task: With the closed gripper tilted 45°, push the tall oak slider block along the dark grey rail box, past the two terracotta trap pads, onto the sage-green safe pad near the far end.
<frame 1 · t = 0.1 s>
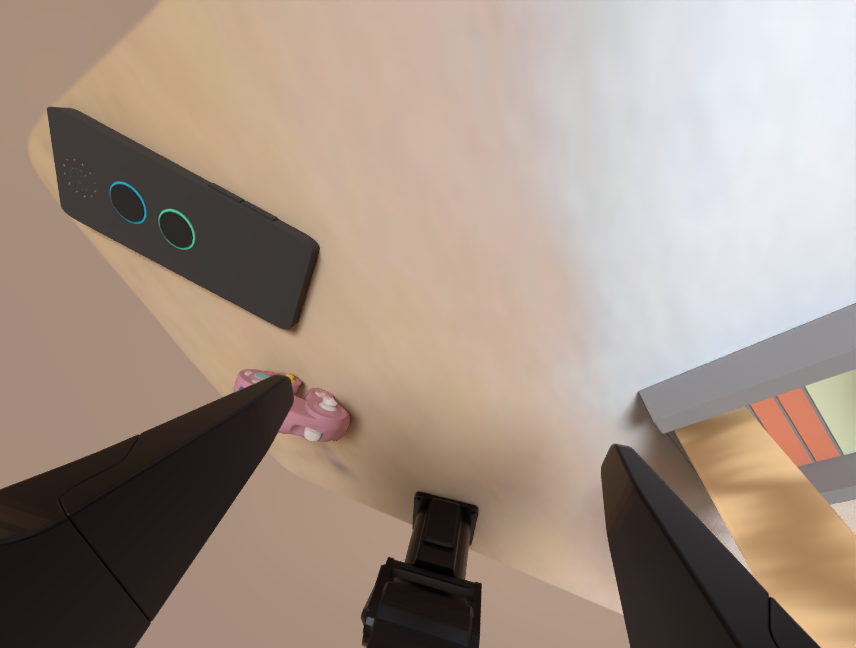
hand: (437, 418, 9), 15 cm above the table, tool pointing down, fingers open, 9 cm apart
rail box: (715, 429, 24), on the table
smart home device: (198, 223, 26), on the table
video game controller: (309, 386, 32), on the table
oak slider: (791, 539, 17), point 8 cm above the table, slide at 0.0 cm
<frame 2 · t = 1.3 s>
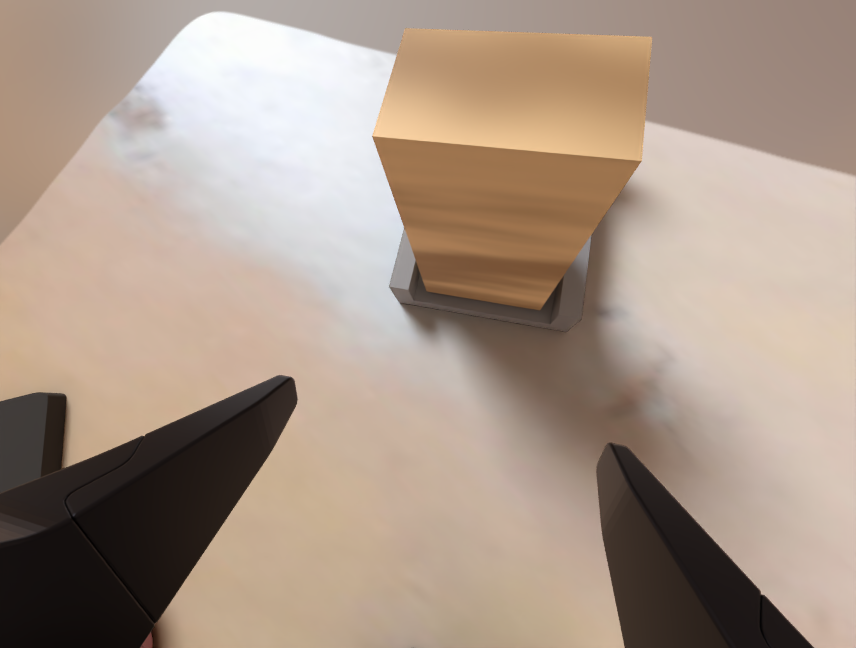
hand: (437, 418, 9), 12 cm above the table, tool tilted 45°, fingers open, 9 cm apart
rail box: (486, 279, 23), on the table
oak slider: (494, 215, 15), point 8 cm above the table, slide at 0.0 cm
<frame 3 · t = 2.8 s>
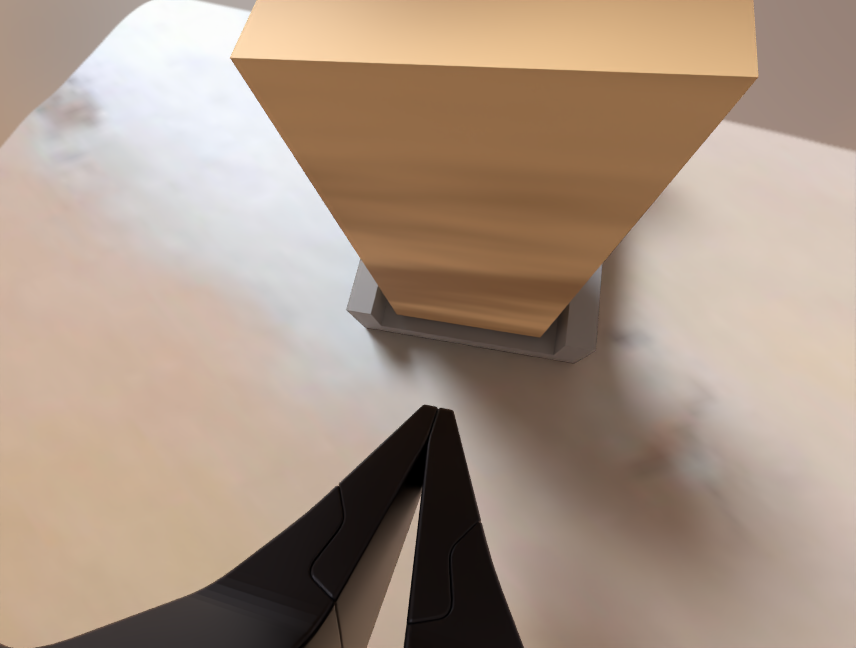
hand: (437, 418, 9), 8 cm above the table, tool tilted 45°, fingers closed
rail box: (472, 298, 18), on the table
oak slider: (475, 213, 11), point 8 cm above the table, slide at 0.0 cm
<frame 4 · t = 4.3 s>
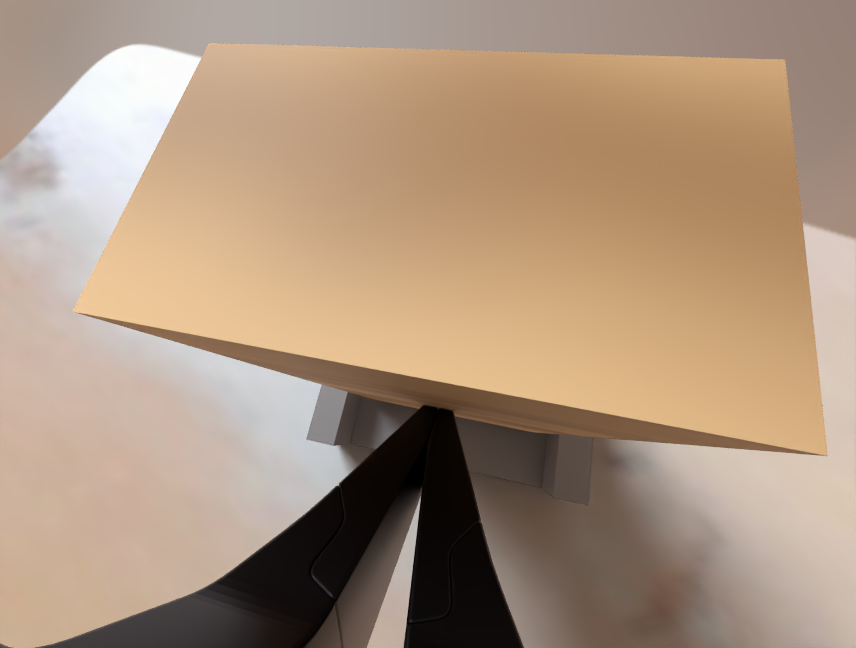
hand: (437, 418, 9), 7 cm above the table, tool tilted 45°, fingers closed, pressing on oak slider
rail box: (452, 406, 17), on the table
oak slider: (451, 336, 10), point 8 cm above the table, slide at 1.5 cm, touching gripper
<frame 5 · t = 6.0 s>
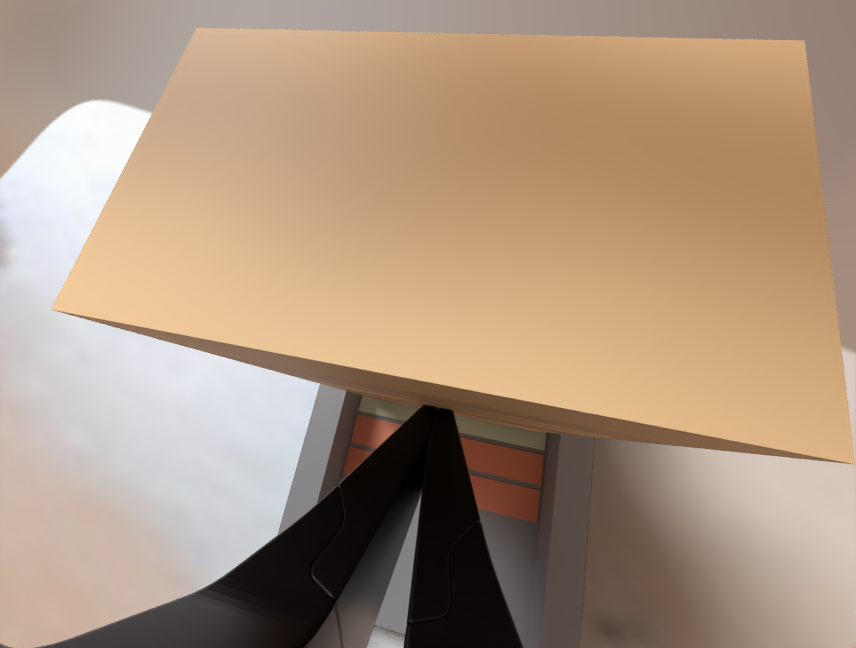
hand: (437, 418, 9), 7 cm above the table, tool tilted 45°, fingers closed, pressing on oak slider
rail box: (426, 552, 15), on the table
oak slider: (451, 334, 9), point 8 cm above the table, slide at 7.9 cm, touching gripper
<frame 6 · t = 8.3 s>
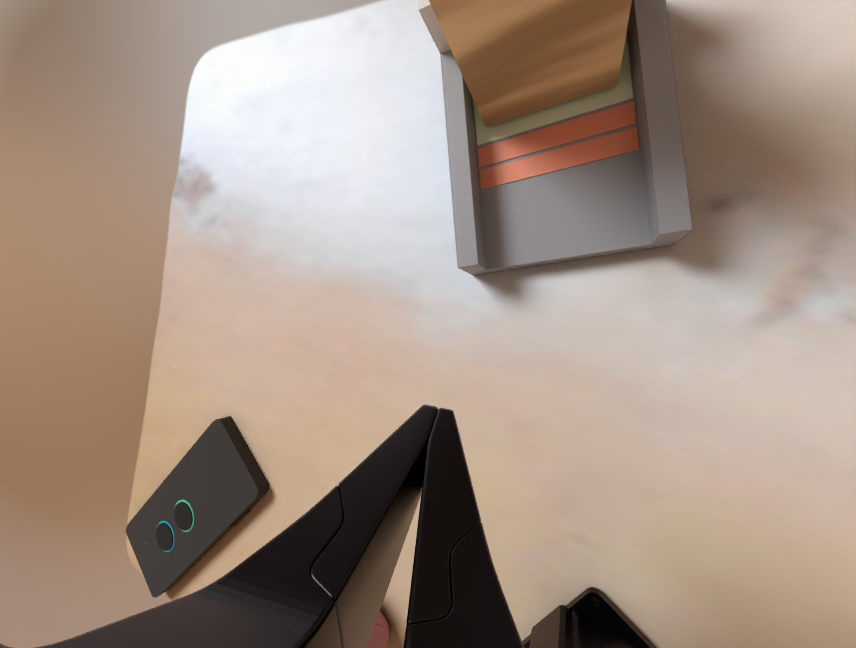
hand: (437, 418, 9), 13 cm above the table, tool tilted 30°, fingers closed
rail box: (558, 218, 20), on the table
smart home device: (202, 504, 34), on the table
video game controller: (336, 608, 27), on the table
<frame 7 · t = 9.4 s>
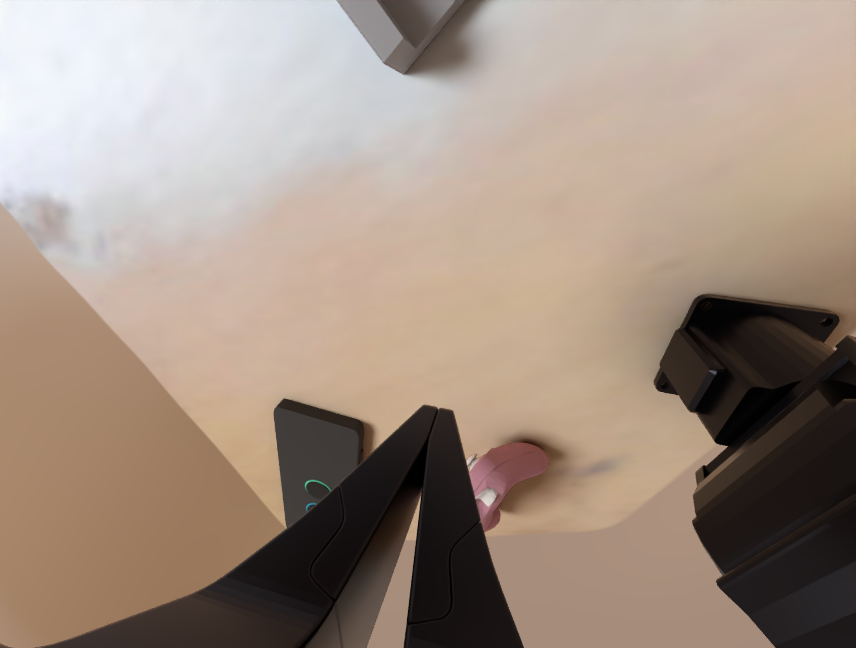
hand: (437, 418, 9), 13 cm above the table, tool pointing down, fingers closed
smart home device: (325, 473, 35), on the table
video game controller: (489, 465, 29), on the table
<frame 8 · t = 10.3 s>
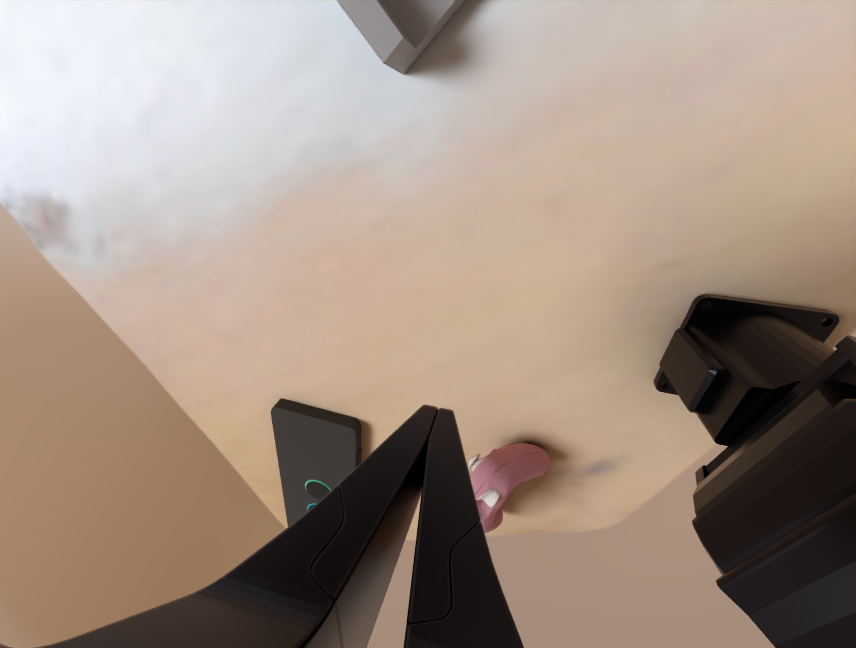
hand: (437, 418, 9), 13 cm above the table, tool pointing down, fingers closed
smart home device: (325, 473, 35), on the table
video game controller: (492, 466, 29), on the table
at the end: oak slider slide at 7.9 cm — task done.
